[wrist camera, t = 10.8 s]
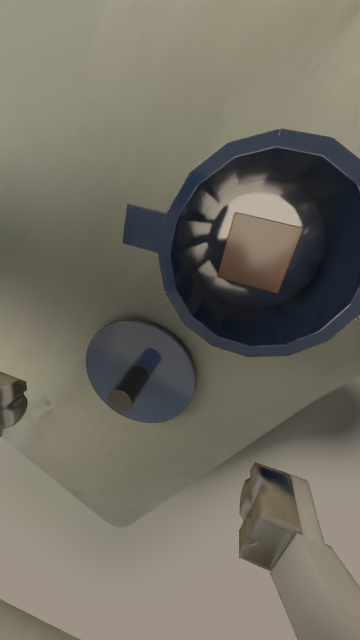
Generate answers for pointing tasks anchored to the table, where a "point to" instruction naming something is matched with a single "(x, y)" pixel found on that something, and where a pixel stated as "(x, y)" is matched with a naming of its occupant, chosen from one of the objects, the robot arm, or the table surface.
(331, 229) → the pot
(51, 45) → the table surface
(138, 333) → the lid
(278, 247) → the block
